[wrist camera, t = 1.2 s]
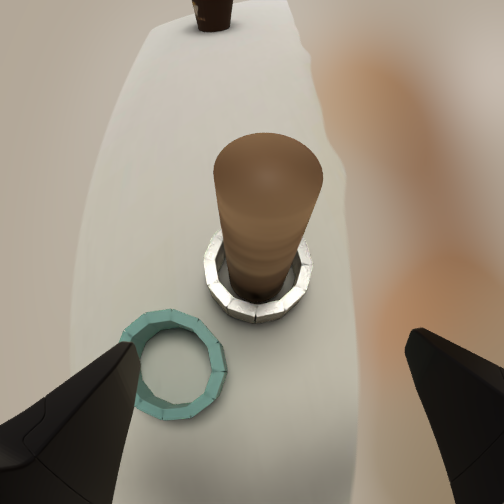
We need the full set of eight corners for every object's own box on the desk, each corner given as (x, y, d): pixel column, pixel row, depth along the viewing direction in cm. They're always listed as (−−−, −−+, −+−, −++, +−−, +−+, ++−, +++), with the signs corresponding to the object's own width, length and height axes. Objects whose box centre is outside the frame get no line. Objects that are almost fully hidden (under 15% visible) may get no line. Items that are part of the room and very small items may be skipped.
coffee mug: (234, 32, 42) (233, -11, 33) (189, 35, 42) (185, -7, 33) (236, 16, 47) (236, -20, 37) (198, 18, 46) (196, -17, 37)
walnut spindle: (289, 296, 22) (338, 207, 10) (235, 307, 22) (222, 225, 10) (277, 246, 24) (303, 129, 12) (225, 256, 24) (207, 140, 12)
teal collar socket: (235, 406, 19) (233, 412, 16) (140, 416, 18) (125, 422, 15) (216, 310, 22) (211, 301, 19) (125, 324, 21) (110, 317, 18)
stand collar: (314, 310, 22) (323, 301, 19) (218, 330, 21) (214, 324, 18) (290, 226, 25) (295, 208, 22) (203, 242, 24) (198, 225, 21)
